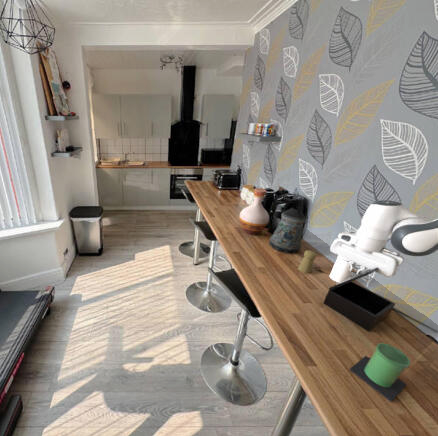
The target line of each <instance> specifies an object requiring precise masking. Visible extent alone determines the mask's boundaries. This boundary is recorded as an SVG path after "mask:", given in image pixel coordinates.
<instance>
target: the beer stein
mask: <svg viewBox="0 0 438 436" xmlns="http://www.w3.org/2000/svg"><path fill="white" fill-rule="evenodd" d="M306 221H307V216H305V214H304V213H303V212H302V210H301V208H300V207H299V206H292V207H291V208H289V209H286V210H284V211H283V212H281V218H280V220H279V222H278V224H277V226H276V229H275V230H274V232H273V233H272V235H271V236H270V237H269V246H270V247H271V248H272V249H274V250H276V251H278V252H280V253H283V254H291V255H295V254H298V252H299V251H300V249H301V248H302V243H301V239H302V234H303V227H304V223H305V222H306Z"/></svg>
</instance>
